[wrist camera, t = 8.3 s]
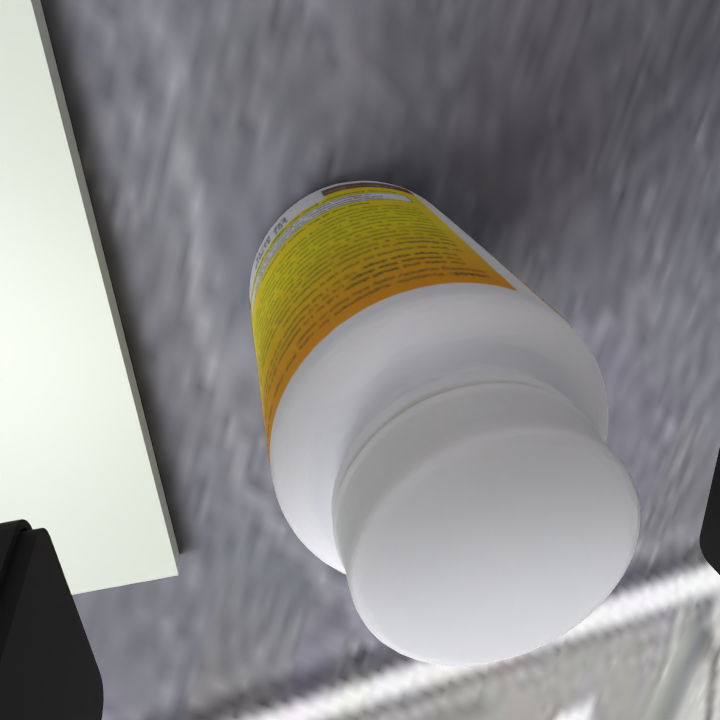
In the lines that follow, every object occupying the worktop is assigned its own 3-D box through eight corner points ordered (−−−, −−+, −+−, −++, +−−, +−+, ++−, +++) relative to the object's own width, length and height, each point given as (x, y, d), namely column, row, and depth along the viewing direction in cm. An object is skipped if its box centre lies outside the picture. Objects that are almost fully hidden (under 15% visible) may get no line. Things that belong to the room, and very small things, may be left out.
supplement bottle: (205, 310, 17) (192, 634, 8) (335, 126, 16) (494, 273, 7) (372, 410, 19) (506, 747, 10) (499, 257, 18) (781, 496, 9)
